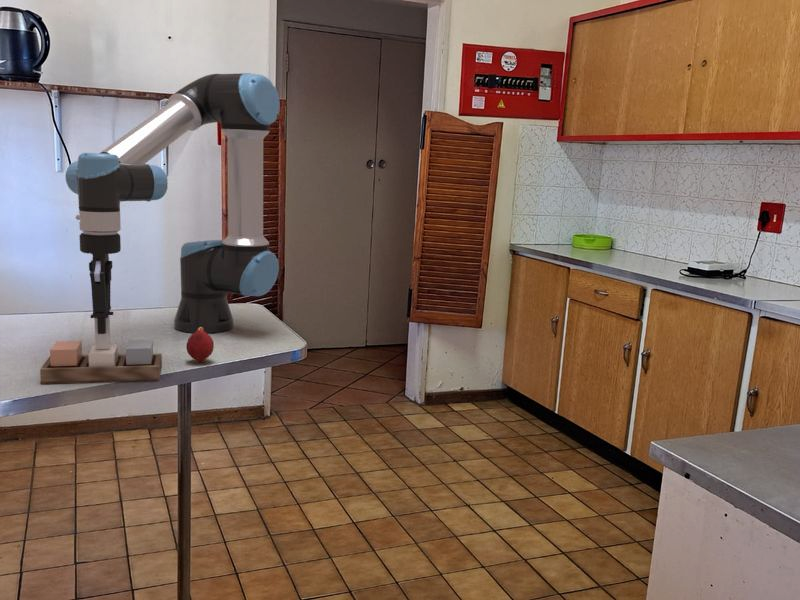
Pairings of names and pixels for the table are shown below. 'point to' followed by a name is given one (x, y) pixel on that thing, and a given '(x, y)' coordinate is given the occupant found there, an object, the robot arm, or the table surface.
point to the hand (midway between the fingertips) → (102, 348)
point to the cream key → (103, 356)
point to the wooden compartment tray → (101, 372)
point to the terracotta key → (66, 353)
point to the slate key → (139, 352)
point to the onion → (200, 345)
